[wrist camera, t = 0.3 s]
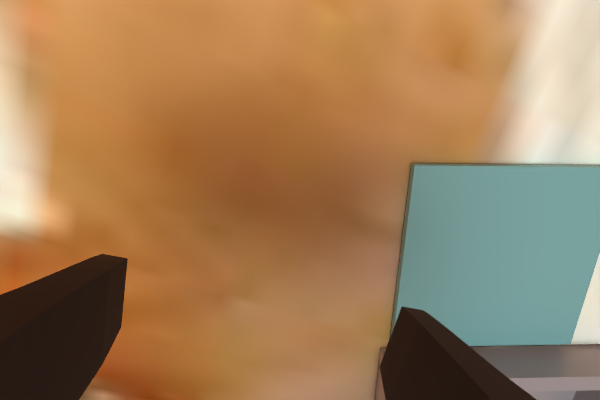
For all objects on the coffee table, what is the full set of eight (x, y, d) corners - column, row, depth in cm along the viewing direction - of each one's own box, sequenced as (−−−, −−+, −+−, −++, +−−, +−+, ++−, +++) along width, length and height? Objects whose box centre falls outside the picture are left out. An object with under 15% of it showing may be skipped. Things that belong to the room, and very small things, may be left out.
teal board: (564, 338, 22) (570, 344, 22) (389, 341, 22) (391, 346, 21) (617, 165, 19) (626, 167, 18) (411, 163, 18) (414, 165, 18)
